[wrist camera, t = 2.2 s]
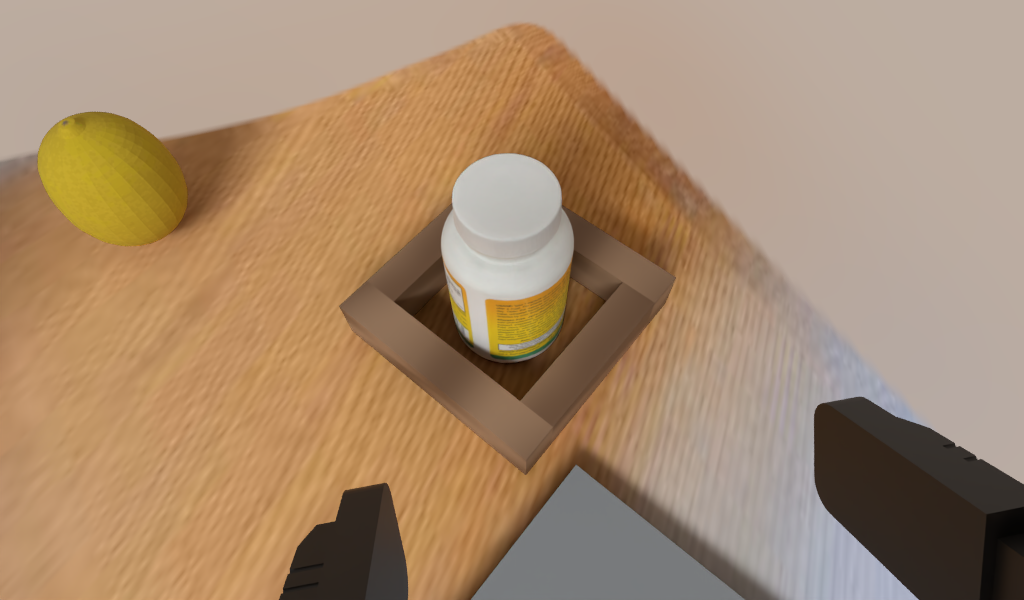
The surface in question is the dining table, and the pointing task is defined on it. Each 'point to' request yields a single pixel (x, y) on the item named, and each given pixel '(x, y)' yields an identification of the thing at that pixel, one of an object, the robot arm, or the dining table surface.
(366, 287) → the walnut holder
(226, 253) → the dining table surface
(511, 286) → the supplement bottle
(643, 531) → the slate board
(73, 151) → the lemon
